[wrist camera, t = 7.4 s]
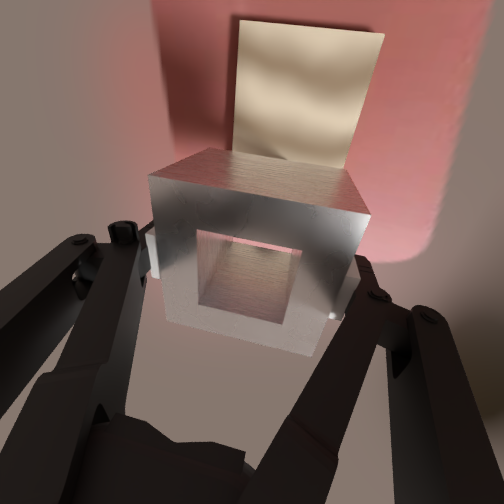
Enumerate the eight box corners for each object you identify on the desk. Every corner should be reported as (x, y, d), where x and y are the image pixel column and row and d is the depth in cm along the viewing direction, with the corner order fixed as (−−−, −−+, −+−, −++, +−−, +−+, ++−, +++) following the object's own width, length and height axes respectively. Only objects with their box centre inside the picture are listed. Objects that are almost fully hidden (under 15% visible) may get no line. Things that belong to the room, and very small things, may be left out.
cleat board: (243, 24, 23) (197, -29, 14) (380, 37, 22) (435, -11, 12) (232, 198, 33) (200, 238, 24) (325, 216, 32) (332, 265, 22)
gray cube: (209, 147, 15) (147, 174, 9) (346, 169, 14) (371, 215, 8) (208, 257, 20) (166, 320, 14) (311, 279, 19) (311, 357, 13)
